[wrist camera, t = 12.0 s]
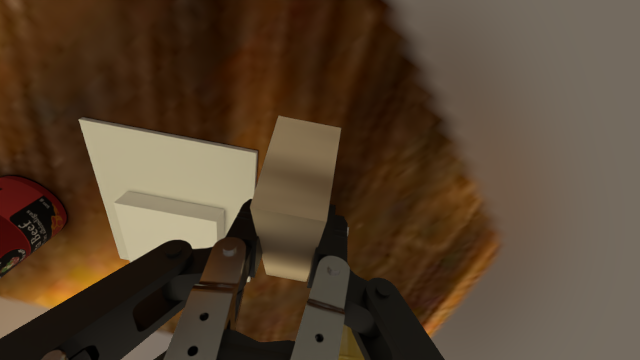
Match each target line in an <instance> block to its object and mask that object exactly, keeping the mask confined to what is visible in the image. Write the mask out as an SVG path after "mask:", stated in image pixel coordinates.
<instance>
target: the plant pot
mask: <svg viewBox="0 0 640 360" xmlns="http://www.w3.org/2000/svg"><path fill="white" fill-rule="evenodd" d="M338 360H365V359H364V357H363V355H362V353H361V351H360V348H359V346H358V344H357V342H356V340H355V338H354V336H353V333H352V331H351V328H349V327H348V326H346V325H343V331H342V338H341V345H340V351H339V358H338Z"/></svg>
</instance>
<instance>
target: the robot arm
mask: <svg viewBox="0 0 640 360" xmlns="http://www.w3.org/2000/svg"><path fill="white" fill-rule="evenodd" d="M251 202H252V199H249V200H248V201H246V202H245V203H244V204H243V205H242V207H241V209H240V210H239V212H238V214H237V216H236V218H235V220H234V222H233V223H232V225H231V227H230V229H229V231H228V233H227V235H226V237H225V238H222V239H220V240H219V241H217V242H216V243H215V244H214V246H213V247H209V248H199V249H192V246H191V245H190V244H189V243H188V242H187V241H184V240H171V241H168V242H165V243H163V244H161V245H160V246H158V247H156V248H155V249H153V250H151V251H149V252H148V253H146V254H144V255H143V256H141V257H139V258H137V259H136V260H134V261H132V262H131V263H129V264H127V265H125V266H124V267H122V268H120V269H119V270H117V271H115V272H113V273H112V274H110V275H108V276H107V277H105V278H103V279H102V280H100V281H98V282H96V283H95V284H93V285H91V286H90V287H88V288H86V289H84V290H83V291H81V292H79V293H78V294H76V295H74V296H72V297H71V298H69V299H67V300H66V301H64V302H62V303H60V304H59V305H57V306H55V307H54V308H52V309H50V310H49V311H47V312H45V313H44V314H42V315H40V316H38V317H37V318H35V319H33V320H31V321H30V322H28V323H27V324H25V325H23V326H21V327H19V328H18V329H16V330H14V331H13V332H11V333H9V334H7V335H6V336H4V337H2V338H1V339H0V360H120V359H122V358H123V357H124V356H125V355H127V354H128V353H129V352H130V351H131V350H133V349H134V348H135V347H136V346H138V345H139V344H140V343H141V342H143V341H144V340H145V339H146V338H147V337H149V336H150V335H151V334H152V333H154V332H155V331H156V330H157V329H158V328H160V327H161V326H162V325H163V324H165V323H166V322H167V321H168V320H169V319H171V318H172V317H173V316H174V315H176V314H177V313H178V312H179V311H180V310H182V309H183V308H184V309H183V312H182V314H181V317H180V319H179V322H178V324H177V327H176V329H175V332H174V334H173V337H172V339H171V342H170V344H169V347H168V349H167V350H166V351H165V352H164V353H162V354H161V355H159V356H158V357H157V358H155V359H154V360H338V358H339V351H340V345H341V338H342V331H343V325H346V326H348V327H349V328H351V331H352V333H353V336H354V338H355V340H356V342H357V344H358V346H359V348H360V351H361V353H362V355H363V357H364V359H365V360H445V359H444V358H443V356H442V355H441V354H440V352H439V351H438V349H437V348H436V346H435V345H434V343H433V342H432V340H431V339H430V337H429V336H428V334H427V333H426V331H425V330H424V328H423V327H422V325H421V324H420V322H419V321H418V319H417V318H416V316H415V315H414V313H413V312H412V311H411V309H410V308H409V306H408V305H407V303H406V302H405V300H404V299H403V297H402V296H401V294H400V293H399V291H398V290H397V288H396V287H395V286H394V285H393V284H392V283H391V282H389V281H388V280H386V279H383V278H373V279H371V280H369V281H366V280H364V279H362V278H360V277H358V276H357V275H355V274H354V273H353V272H352V271H351V270H350V268H349V266H348V263H347V228H348V224H347V222H346V220H345V218H344V217H343V216H338V215H335V205H332V204H329V210H328V216H327V222H326V225H325V228H324V231H323V234H322V237H321V240H320V243H319V245H318V247H316V248H315V251H314V255H313V258H312V261H311V266H310V272H309V279H308V286H307V288H312V289H311V292H310V295H309V299H308V301H307V304H306V307H305V311H304V314H303V318H302V321H301V325H300V328H299V332H298V335H297V338H296V342H295V341H290V340H286V341H274V342H258V341H256V340H254V339H252V338H250V337H247V336H245V335H243V334H241V333H239V332H237V331H236V325H237V321H238V316H239V312H240V307H241V302H242V298H243V293H244V286H245V284H246V282H247V279H248V277H255V274H256V271H257V268H258V266H259V263H260V260H261V257H262V254H263V252H262V248H261V244H260V239H259V236H257V234H256V230H255V226H254V222H253V218H252V214H251V210H250V205H251Z"/></svg>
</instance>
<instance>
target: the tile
mask: <svg viewBox="0 0 640 360" xmlns="http://www.w3.org/2000/svg"><path fill="white" fill-rule="evenodd" d="M114 206H115V210H116V213H117V217H118V220H119V224H120V228H121V231H122V235H123V239H124V242H125V246H126V249H127V253H128V257H129V260H130V263H131V262H132V261H134V260H136V259H137V258H139V257H141V256H143V255H144V254H146V253H148V252H149V251H151V250H153V249H155V248H156V247H158V246H160V245H161V244H163V243H165V242H168V241H171V240H184V241H187V242H188V243H189V244H190V245H191V246H192V249H199V248H209V247H213V246H214V244H215V243H216V242H217V241H219V240H220V239H222V238H225V231H224V209H220V208H215V207H209V206H204V205H199V204H193V203H188V202H183V201H177V200H172V199H167V198H161V197H156V196H151V195H145V194H140V193H135V192H129V191H127V192H126V193H125V194H123V195H122V196H121V197H120V198H119V199H117V200H116V201H115V202H114Z"/></svg>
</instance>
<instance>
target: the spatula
mask: <svg viewBox="0 0 640 360" xmlns="http://www.w3.org/2000/svg"><path fill="white" fill-rule="evenodd" d="M340 132H341V128H338V127H333V126H328V125H323V124H318V123H313V122H307V121H302V120H297V119H292V118H287V117H282V116H278V119H277V122H276V126H275V129H274V132H273V135H272V138H271V142H270V145H269V148H268V151H267V154H266V158H265V161H264V164H263V167H262V170H261V173H260V177H259V180H258V183H257V186H256V189H255V193H254V196H253V199H252V202H251V205H250V210H251V214H252V218H253V222H254V226H255V230H256V234H257V236H259V239H260V244H261V248H262V252H263V254H262V258H263V262H264V266H265V270H266V274H267V275H273V276H278V277H283V278H289V279H294V280H299V281H305V282H306V280H307V277H308V274H309V272H310V266H311V261H312V258H313V255H314V251H315V248H316V247H318V245H319V243H320V240H321V237H322V234H323V231H324V228H325V225H326V222H327V216H328V210H329V203H330V197H331V190H332V184H333V178H334V171H335V165H336V158H337V152H338V145H339V139H340ZM348 229H349V228H347V236H348Z"/></svg>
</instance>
